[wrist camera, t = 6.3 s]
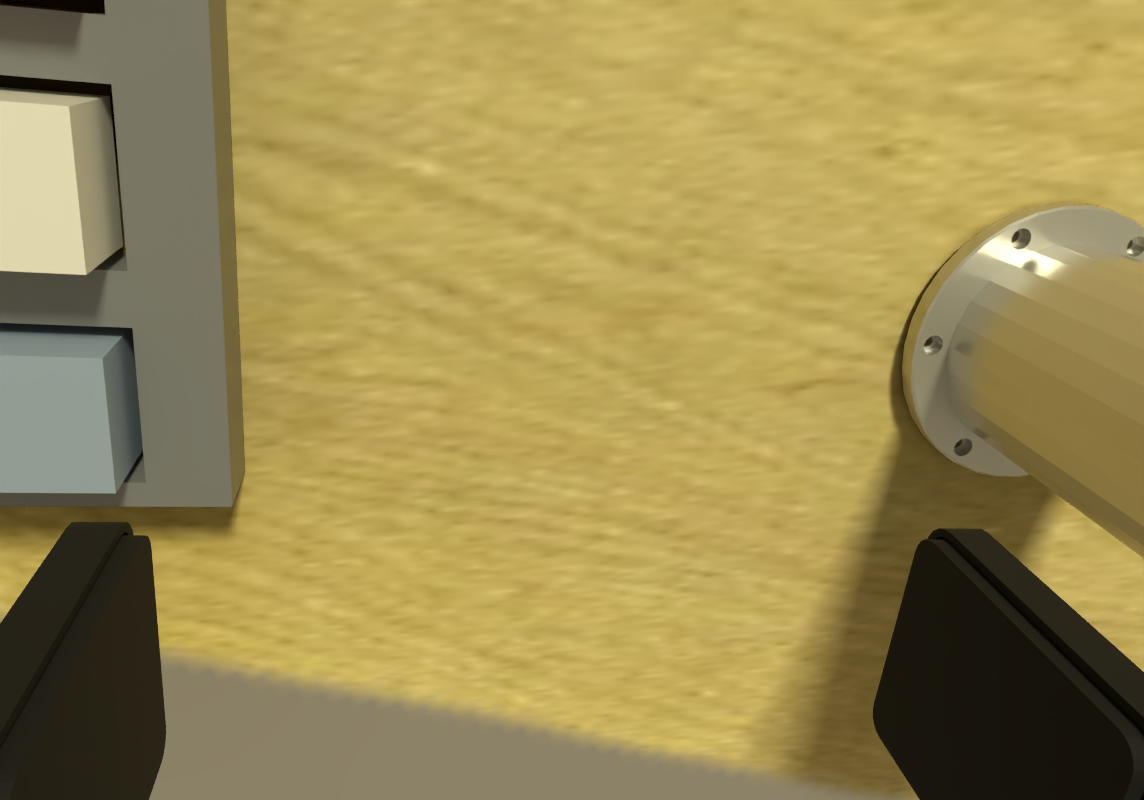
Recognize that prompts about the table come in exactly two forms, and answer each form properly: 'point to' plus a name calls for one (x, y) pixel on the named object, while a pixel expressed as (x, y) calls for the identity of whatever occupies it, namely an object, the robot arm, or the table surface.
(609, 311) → the table surface
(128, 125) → the keypad base
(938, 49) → the table surface
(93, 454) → the slate-blue key
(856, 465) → the table surface
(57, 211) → the off-white key
